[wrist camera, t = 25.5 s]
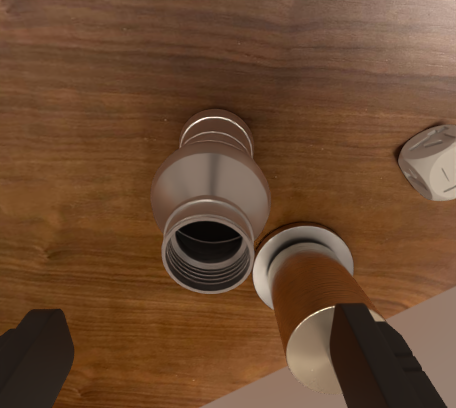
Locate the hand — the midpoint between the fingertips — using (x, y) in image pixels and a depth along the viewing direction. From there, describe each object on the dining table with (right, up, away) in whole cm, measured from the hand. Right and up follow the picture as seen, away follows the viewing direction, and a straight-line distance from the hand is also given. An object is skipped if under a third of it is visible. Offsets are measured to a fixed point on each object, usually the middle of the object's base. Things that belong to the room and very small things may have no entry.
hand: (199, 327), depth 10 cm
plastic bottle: (0, +10, +21) cm, 24 cm away
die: (+20, +9, +22) cm, 31 cm away
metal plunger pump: (+9, -4, +27) cm, 28 cm away
